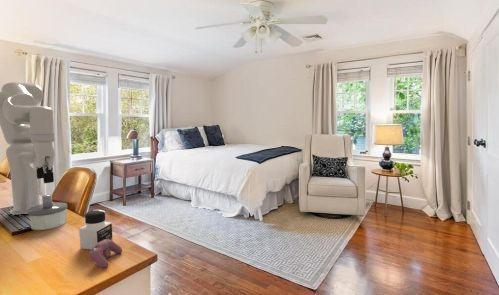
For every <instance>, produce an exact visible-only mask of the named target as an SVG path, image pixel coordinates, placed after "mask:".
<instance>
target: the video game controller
mask: <svg viewBox="0 0 499 295" xmlns="http://www.w3.org/2000/svg"><path fill="white" fill-rule="evenodd" d="M111 252H113V253H115V254H119V253H120V254H122V253H123V249H122V247H121V246H120V245H118V244H117V243H116V242H114V241H112V240H109V239H106V240H102V241H100V242H98V243H97V244H96V245H95V246H94V247H93V249H92V250H90V251H89V253H88V257H89V259H90V260H91V261H92V262H93V263H95V264H97V265H98V267H100V268H108V267H109V261H108V260H107V258H109V257H111V254H112V253H111Z"/></svg>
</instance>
